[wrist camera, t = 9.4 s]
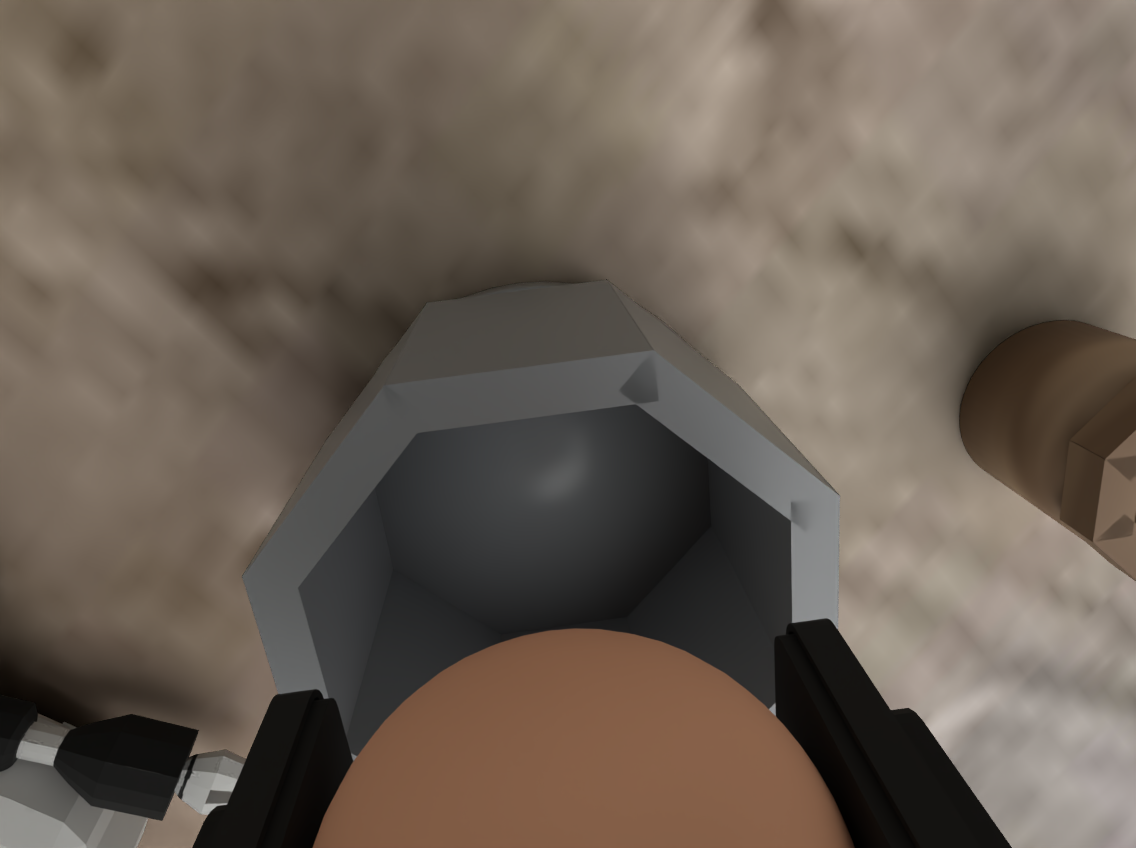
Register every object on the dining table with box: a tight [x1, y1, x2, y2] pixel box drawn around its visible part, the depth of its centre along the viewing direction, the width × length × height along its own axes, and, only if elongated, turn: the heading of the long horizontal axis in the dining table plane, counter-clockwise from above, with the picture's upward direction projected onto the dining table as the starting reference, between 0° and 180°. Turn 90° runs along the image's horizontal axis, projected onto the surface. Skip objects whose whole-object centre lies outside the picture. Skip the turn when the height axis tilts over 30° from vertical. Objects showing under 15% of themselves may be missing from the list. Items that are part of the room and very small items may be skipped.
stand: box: [960, 320, 1136, 581], centre depth 17 cm, size 4×4×5 cm
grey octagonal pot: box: [242, 279, 840, 761], centre depth 16 cm, size 10×10×7 cm
